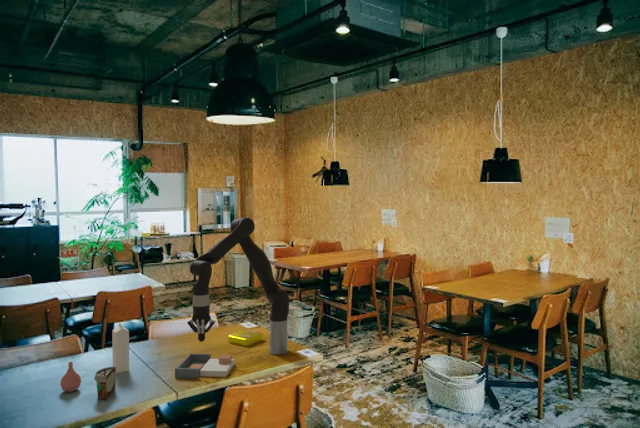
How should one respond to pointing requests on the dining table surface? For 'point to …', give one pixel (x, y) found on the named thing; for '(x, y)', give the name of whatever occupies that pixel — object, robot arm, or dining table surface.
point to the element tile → (245, 338)
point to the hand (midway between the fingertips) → (201, 341)
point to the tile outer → (197, 366)
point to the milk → (120, 348)
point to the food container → (105, 382)
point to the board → (216, 368)
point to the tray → (184, 367)
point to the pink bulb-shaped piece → (70, 379)
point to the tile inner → (225, 359)
